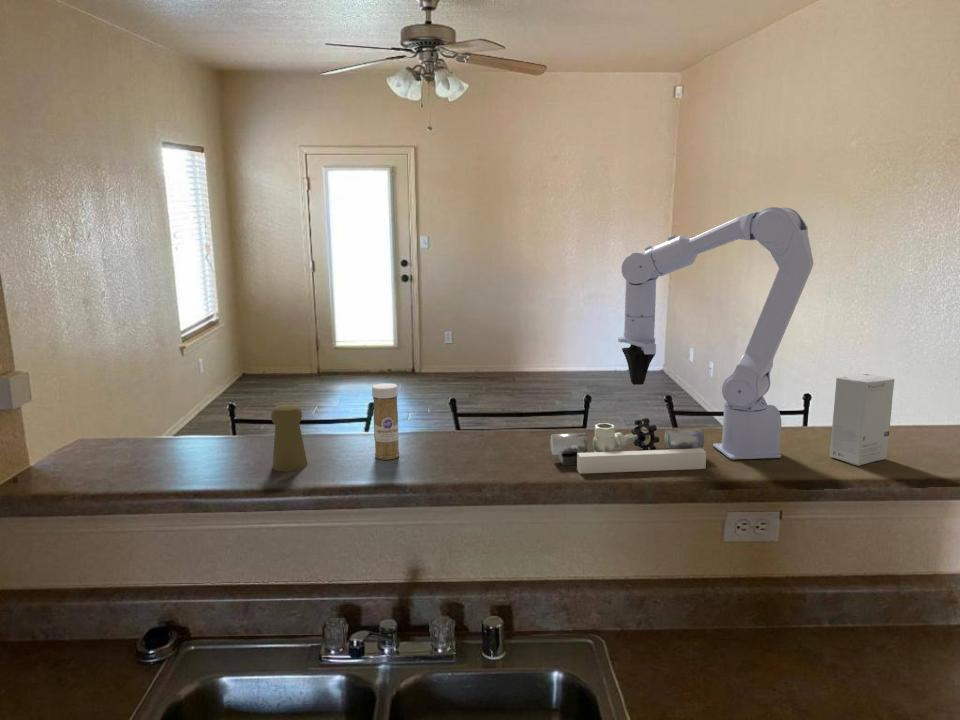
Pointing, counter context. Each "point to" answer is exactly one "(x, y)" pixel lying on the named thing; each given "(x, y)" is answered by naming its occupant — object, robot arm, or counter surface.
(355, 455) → the counter surface
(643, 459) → the bar
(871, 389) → the skincare box
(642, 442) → the valve
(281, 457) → the cork
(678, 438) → the pipe stubs
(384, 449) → the sprinkles bottle
